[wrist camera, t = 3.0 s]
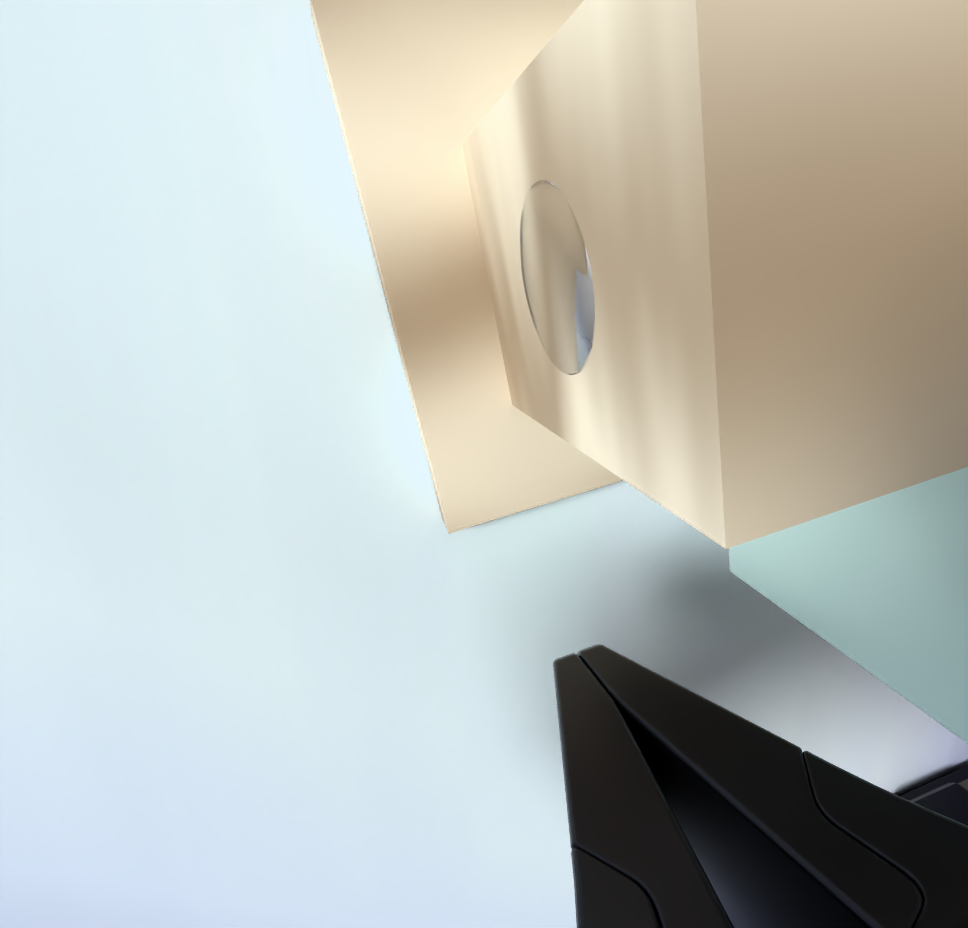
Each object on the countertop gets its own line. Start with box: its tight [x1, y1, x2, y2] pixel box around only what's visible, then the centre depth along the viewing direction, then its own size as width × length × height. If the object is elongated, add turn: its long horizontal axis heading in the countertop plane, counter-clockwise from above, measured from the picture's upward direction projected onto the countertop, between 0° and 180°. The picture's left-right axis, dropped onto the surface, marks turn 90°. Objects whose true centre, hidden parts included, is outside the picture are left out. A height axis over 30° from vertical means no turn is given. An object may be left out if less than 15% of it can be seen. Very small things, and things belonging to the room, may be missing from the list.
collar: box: [729, 467, 968, 744], centre depth 9 cm, size 11×2×6 cm, turn 12°
